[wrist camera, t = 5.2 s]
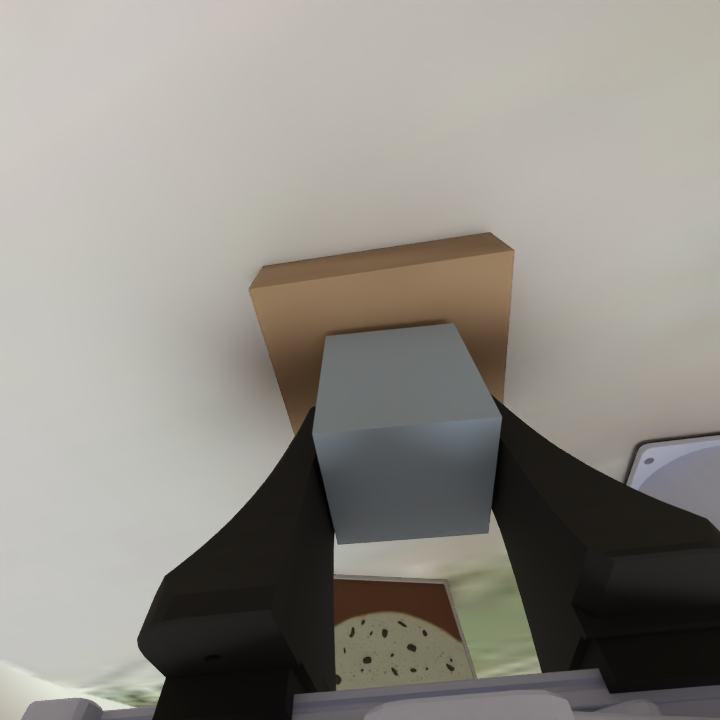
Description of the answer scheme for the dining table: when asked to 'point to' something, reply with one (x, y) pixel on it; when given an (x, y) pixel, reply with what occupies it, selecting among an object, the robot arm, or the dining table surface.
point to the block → (405, 435)
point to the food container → (397, 633)
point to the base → (384, 306)
